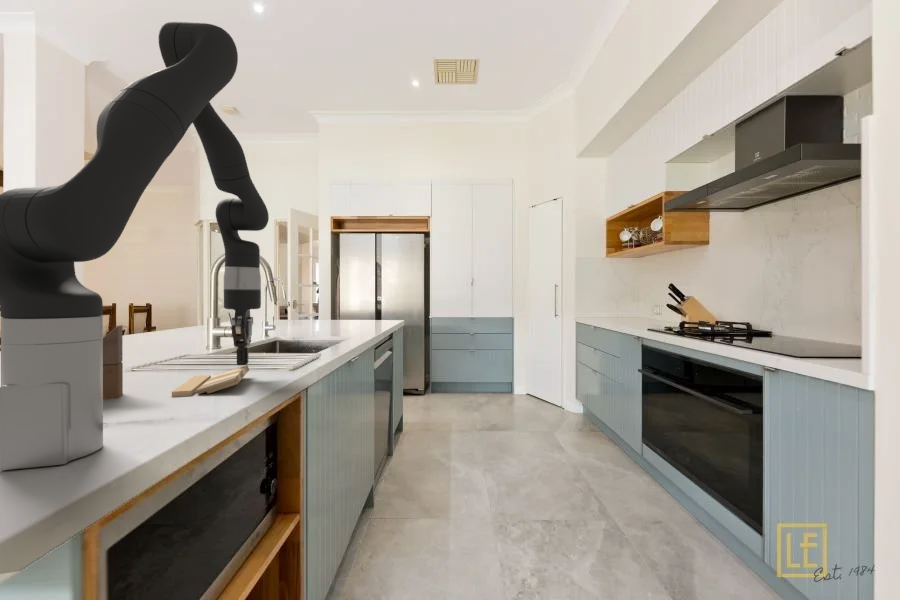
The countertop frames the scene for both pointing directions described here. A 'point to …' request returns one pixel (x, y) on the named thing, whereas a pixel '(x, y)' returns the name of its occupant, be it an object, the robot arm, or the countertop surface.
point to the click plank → (223, 380)
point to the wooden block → (112, 364)
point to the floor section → (190, 386)
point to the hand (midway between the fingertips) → (242, 364)
